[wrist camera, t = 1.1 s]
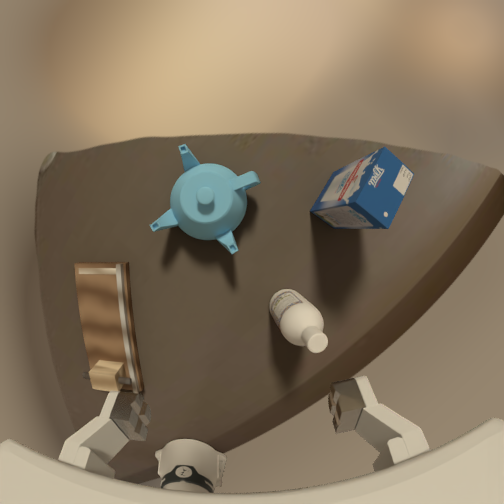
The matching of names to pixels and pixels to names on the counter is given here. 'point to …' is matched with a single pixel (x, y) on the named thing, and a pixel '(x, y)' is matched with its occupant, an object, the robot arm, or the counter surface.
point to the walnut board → (108, 316)
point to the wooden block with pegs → (107, 376)
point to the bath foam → (298, 320)
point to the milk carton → (364, 192)
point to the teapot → (207, 201)
